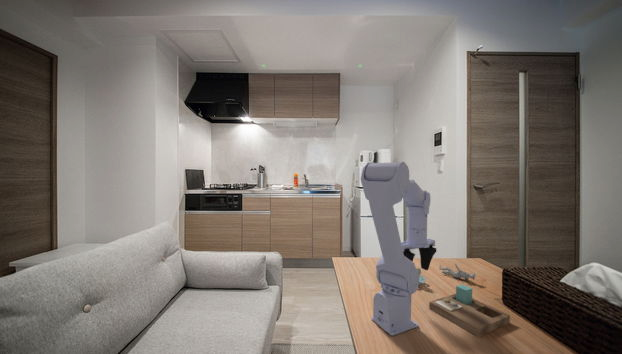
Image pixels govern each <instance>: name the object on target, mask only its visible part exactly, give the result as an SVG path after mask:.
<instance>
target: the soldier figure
mask: <svg viewBox="0 0 622 354" xmlns="http://www.w3.org/2000/svg"><path fill="white" fill-rule="evenodd" d="M453 265H454V266H455V268H456V270H457V271H454V270H453V269H451V267H442V265H441V264H440V265H439V271H440V270H442V271H441V273H442V274H450V275H451V276H452V277H453V278H455V279H460V278H462V279H465V280H469V279H472V281H475V279H476V274H475V271H473V272H471V273H469V272H467V271H465V270H462V269H460V268H459V267H458V265H457V263H455V262H453Z"/></svg>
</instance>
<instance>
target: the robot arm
mask: <svg viewBox="0 0 622 354" xmlns="http://www.w3.org/2000/svg"><path fill="white" fill-rule="evenodd" d="M361 170H362V171H361V175H360V183H361V186H362V189H363V193H364V196H365V199H366V201H368V203H369V204H368V205H369V208H370V212H371V217H372V220H373V223H374V228H375V231H376V235H377V239H378V243H379V247H380V251H381V256H380V257H379V258H378V260H377V262H376V264H375V270H376V273H375V274H376V277H375V278H376V280H377V283H379V284H380V288H381V290H380V291H379V292H377V293H375V294H374V297H373V316H371V320H372V321H373V322H374V323H375V324H377V325H378V326H379V327H380V328H382V329H383V330H384V331H385V332H386V333H387V334H388V335H390V336H395V335H398V334H401V333H404V332H407V331H409V330H412V329H415V328H417V327H419V325H420V324H419V323H418V322H416V321H414V320H413V319H412V295H413V294H414V293H416V292H417V290H418V288H419V286H420V285H419V276H420V275H419V273H418V271H417V267H416V264H415V262H414V259H415V256H416V253H414V252H412V251H411V250H415V249H418V251H419V256H420V269H422V270H424V271H429V268H430V264H431V262H432V259H433V257H434V256H435V254H437V248H436V240H435V239H431V238H428V215H429V213H430V205H431V194H430V192H428V191H427V190H423V189H422V188H421V187H420V185H419V184H418V183H417V182H416V181H415V180H414V179H410V168H409V166H408V165H407V162H405V161H399V162H369V161H368V162H366V163H365V164H364V166H363V167H362V169H361ZM402 200H403V202H404V206H405V207H406V208H407V222H406V223H407V225H406V226H407V228H406V229H407V230H406V240H404V241H401V237H400V232H399V227H398V226H399V225H398V223H397V219H396V214H395V208H394V206H395V205H397V204H398V203H401V202H402ZM418 285H419V286H418Z"/></svg>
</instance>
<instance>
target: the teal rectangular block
mask: <svg viewBox="0 0 622 354" xmlns="http://www.w3.org/2000/svg"><path fill="white" fill-rule="evenodd" d="M455 287H456V288H455V294H456V301H458V302H460V303H462V304H464V305H469V304H472V298H473V288H472V287H470V286H467V285H465V284H463V283H462V284H459V285H456V286H455Z"/></svg>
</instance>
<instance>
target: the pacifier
mask: <svg viewBox="0 0 622 354" xmlns="http://www.w3.org/2000/svg"><path fill="white" fill-rule="evenodd" d="M416 269H417V271H418V273H419V285H418V287H419V286H421V285H422V284H425V283H426V282H427V281H426V280H427V278H426V277H425V276H423V275H422V270H421V269H422V268H421V267H418V268H417V267H416Z"/></svg>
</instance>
